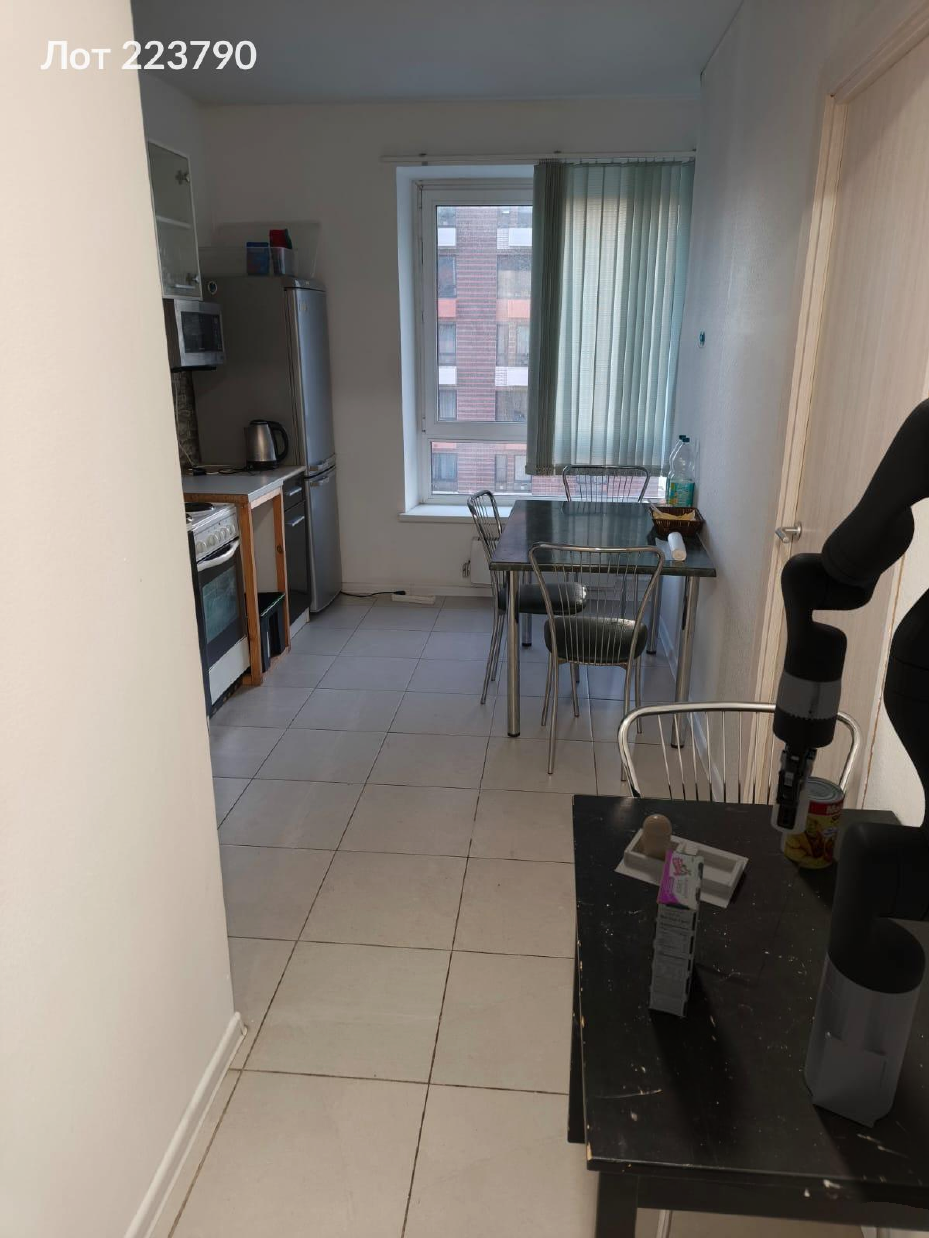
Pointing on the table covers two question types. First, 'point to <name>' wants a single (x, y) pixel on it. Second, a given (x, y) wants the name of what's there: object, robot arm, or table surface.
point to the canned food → (817, 826)
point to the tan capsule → (656, 837)
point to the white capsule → (800, 816)
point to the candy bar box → (675, 933)
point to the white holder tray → (718, 864)
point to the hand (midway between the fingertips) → (788, 817)
